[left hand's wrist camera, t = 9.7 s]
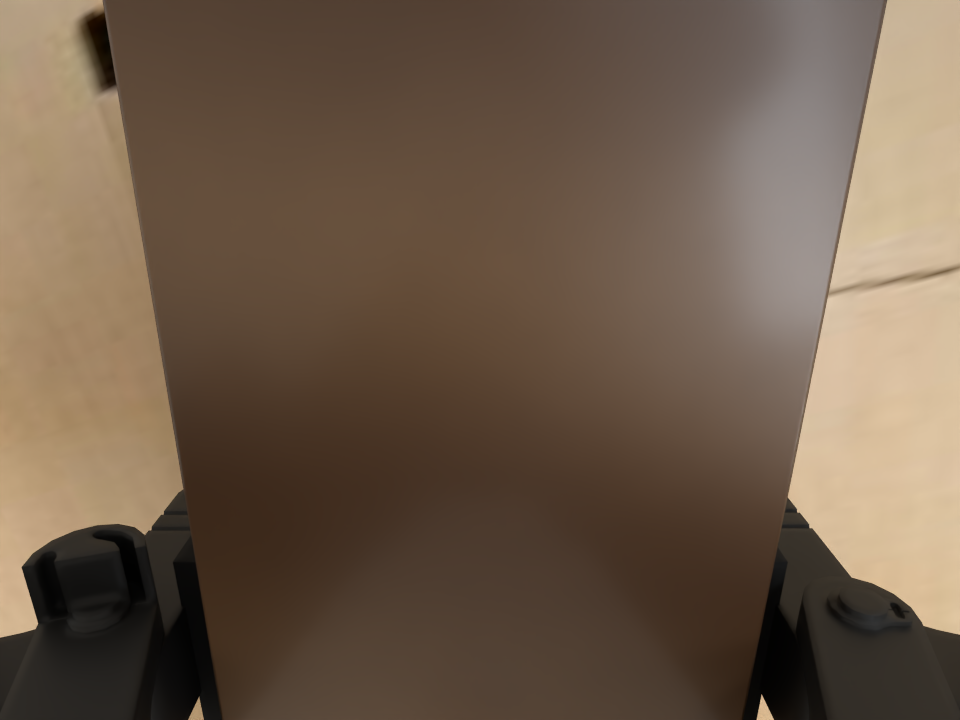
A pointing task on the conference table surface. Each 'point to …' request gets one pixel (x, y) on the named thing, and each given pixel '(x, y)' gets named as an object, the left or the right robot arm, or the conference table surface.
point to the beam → (489, 335)
